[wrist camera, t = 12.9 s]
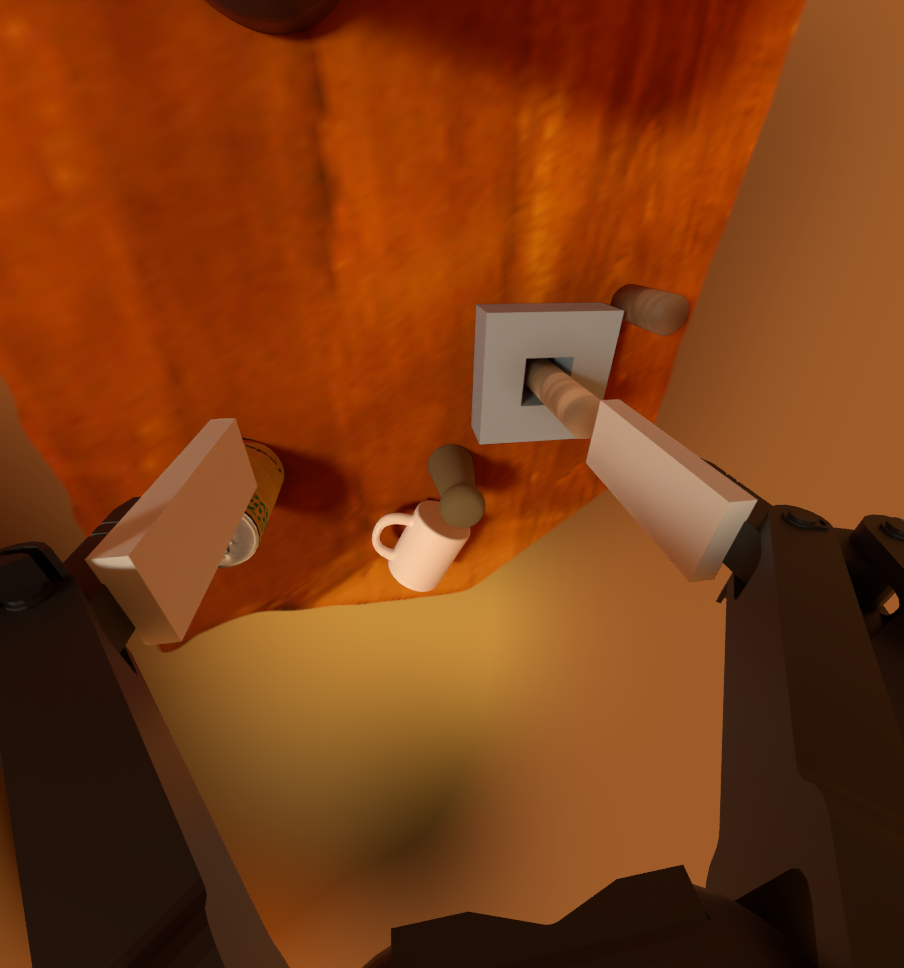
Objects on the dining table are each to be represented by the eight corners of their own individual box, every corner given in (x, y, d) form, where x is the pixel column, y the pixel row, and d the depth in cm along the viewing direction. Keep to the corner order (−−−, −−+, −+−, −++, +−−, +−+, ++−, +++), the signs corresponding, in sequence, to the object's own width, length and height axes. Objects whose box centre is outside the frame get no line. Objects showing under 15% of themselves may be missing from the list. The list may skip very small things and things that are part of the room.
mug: (465, 509, 56) (476, 547, 49) (435, 557, 60) (441, 597, 54) (387, 483, 51) (388, 521, 45) (361, 537, 56) (358, 578, 49)
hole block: (476, 304, 41) (486, 312, 37) (601, 302, 42) (624, 310, 38) (471, 425, 48) (479, 444, 44) (577, 420, 50) (594, 437, 46)
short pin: (615, 284, 42) (658, 294, 35) (645, 283, 42) (694, 294, 35) (607, 319, 44) (647, 336, 37) (636, 319, 44) (681, 335, 37)
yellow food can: (270, 432, 45) (239, 490, 35) (293, 494, 50) (271, 560, 40) (190, 442, 44) (135, 504, 34) (222, 504, 49) (181, 574, 40)
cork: (476, 445, 50) (496, 493, 41) (469, 484, 53) (487, 536, 44) (429, 443, 49) (440, 492, 40) (425, 483, 52) (435, 537, 43)
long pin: (519, 353, 44) (572, 401, 32) (549, 352, 45) (613, 398, 32) (516, 384, 46) (565, 440, 34) (545, 382, 47) (604, 437, 34)
